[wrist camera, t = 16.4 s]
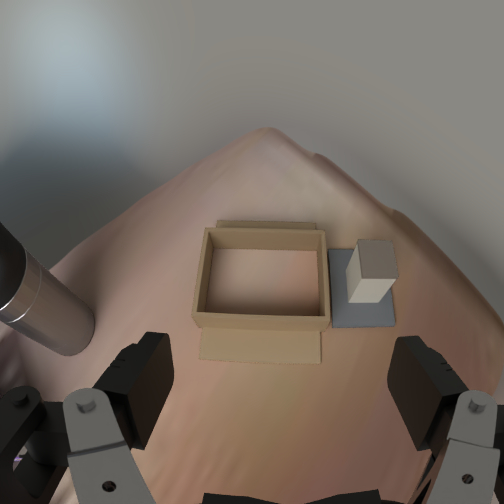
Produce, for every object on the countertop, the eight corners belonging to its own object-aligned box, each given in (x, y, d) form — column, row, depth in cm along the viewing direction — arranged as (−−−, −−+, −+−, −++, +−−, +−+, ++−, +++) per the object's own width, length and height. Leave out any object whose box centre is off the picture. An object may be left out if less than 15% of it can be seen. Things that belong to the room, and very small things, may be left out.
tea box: (347, 302, 42) (363, 276, 35) (345, 270, 44) (358, 239, 38) (378, 302, 41) (398, 276, 35) (374, 270, 44) (391, 240, 37)
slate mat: (332, 327, 41) (332, 326, 40) (327, 251, 47) (328, 249, 46) (393, 326, 40) (395, 325, 39) (383, 252, 46) (384, 250, 46)
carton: (194, 358, 39) (186, 350, 35) (213, 221, 51) (209, 203, 47) (324, 364, 38) (331, 356, 34) (318, 224, 49) (322, 205, 46)
